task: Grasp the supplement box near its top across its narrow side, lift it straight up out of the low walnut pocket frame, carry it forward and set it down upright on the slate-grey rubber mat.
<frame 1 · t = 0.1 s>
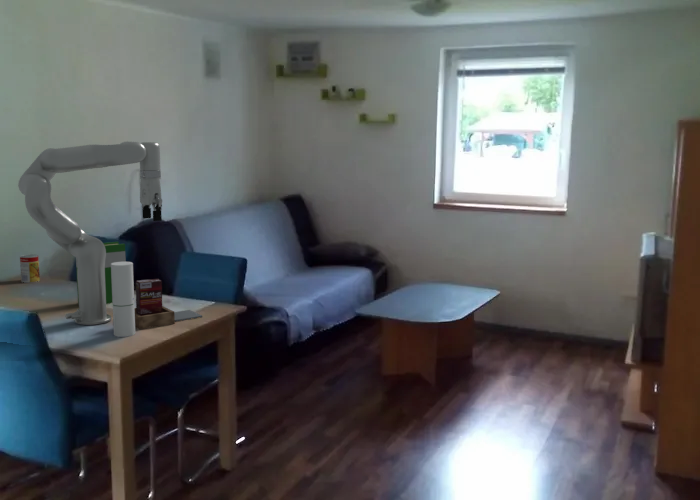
hand: (152, 219, 264), 36 cm above the table, tool pointing down, fingers open, 9 cm apart
supplement box: (149, 322, 254), resting in pocket frame
mat: (182, 316, 263), on the table
hardback book: (102, 302, 284), on the table
cylindrical container: (124, 334, 239), on the table
pocket frame: (149, 322, 254), on the table
canned food: (30, 281, 321), on the table
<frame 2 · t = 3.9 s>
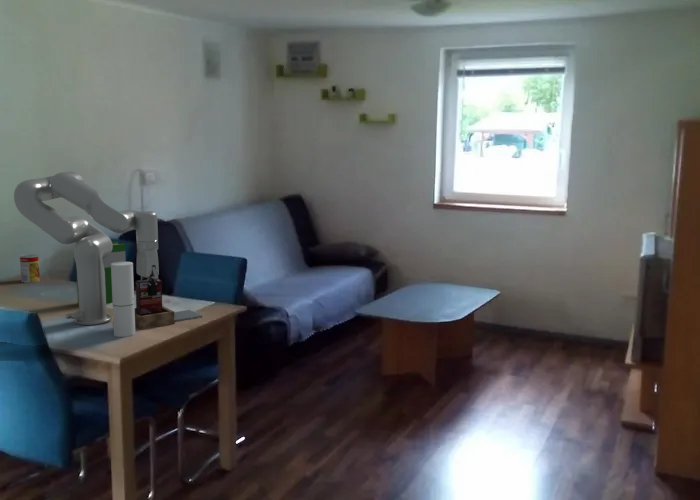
hand: (149, 293, 252), 11 cm above the table, tool pointing down, fingers closed on supplement box, 5 cm apart
supplement box: (150, 322, 254), resting in pocket frame, touching gripper
everything else where it was.
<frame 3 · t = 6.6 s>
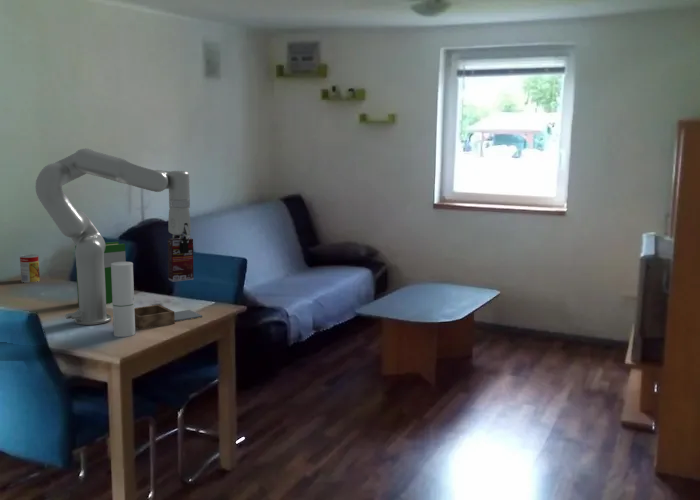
hand: (180, 251, 259), 25 cm above the table, tool pointing down, fingers closed on supplement box, 5 cm apart
supplement box: (181, 280, 261), point 14 cm above the table, touching gripper
everything else where it was.
when the fingers open (12 cm above the table, at t = 9.7 s): supplement box stays where it is, resting on mat.
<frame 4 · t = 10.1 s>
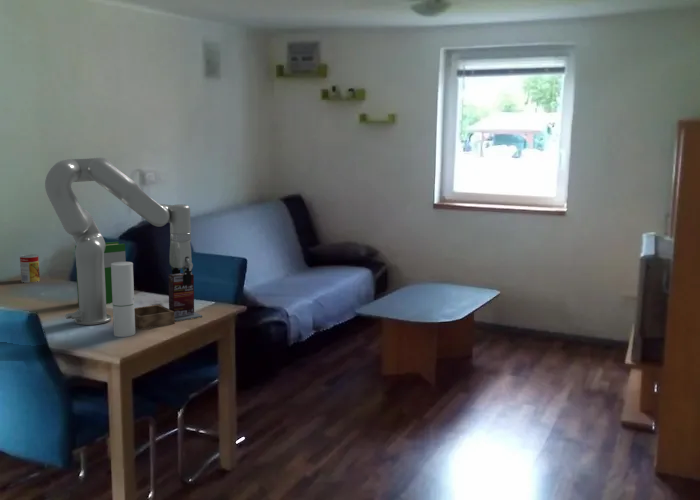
hand: (181, 282, 261), 13 cm above the table, tool pointing down, fingers open, 9 cm apart
supplement box: (182, 315, 263), resting on mat
everything else where it was.
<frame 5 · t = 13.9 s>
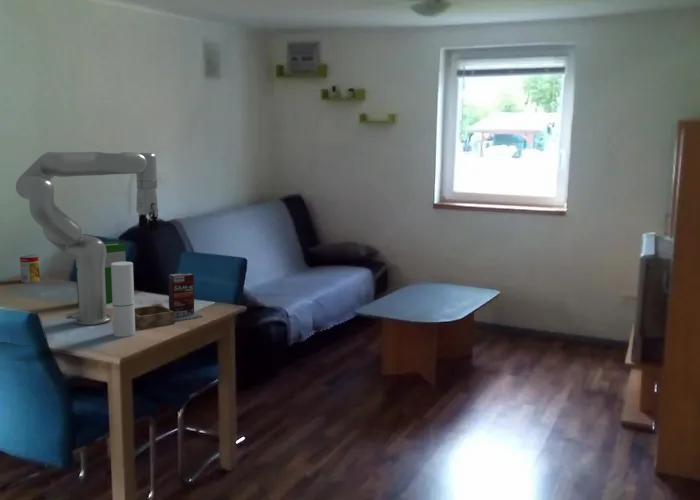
hand: (148, 228, 268), 32 cm above the table, tool pointing down, fingers open, 9 cm apart
nothing on the table moved.
at the end: supplement box inside the target area on the mat (0.2 cm from its centre), point 0.4 cm above the mat's base; supplement box tilted 0°; the gripper is holding nothing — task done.
